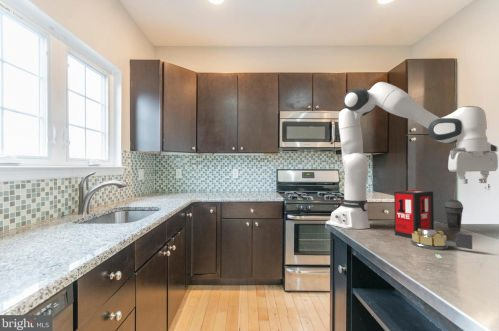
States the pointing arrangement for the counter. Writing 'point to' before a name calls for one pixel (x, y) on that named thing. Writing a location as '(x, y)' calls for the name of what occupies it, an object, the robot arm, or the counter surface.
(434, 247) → the flange
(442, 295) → the counter surface
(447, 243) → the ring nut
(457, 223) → the beverage cup
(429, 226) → the cleaning product box
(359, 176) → the robot arm
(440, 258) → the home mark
